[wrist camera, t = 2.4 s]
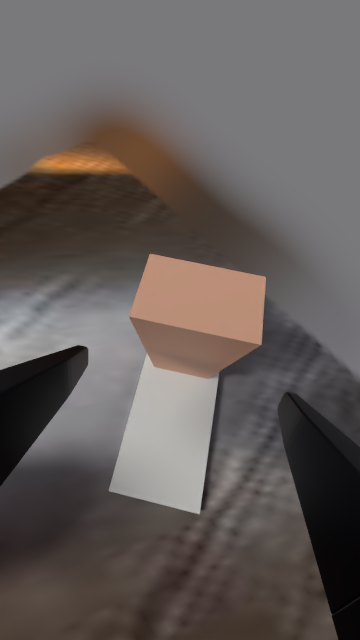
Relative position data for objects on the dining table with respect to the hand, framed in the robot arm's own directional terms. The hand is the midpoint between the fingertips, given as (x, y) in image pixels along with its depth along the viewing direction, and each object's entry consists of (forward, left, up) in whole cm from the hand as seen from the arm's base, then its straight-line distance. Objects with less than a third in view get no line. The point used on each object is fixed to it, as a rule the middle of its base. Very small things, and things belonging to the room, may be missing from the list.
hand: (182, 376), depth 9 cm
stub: (+2, -2, -10) cm, 10 cm away
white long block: (+1, 0, -10) cm, 10 cm away
